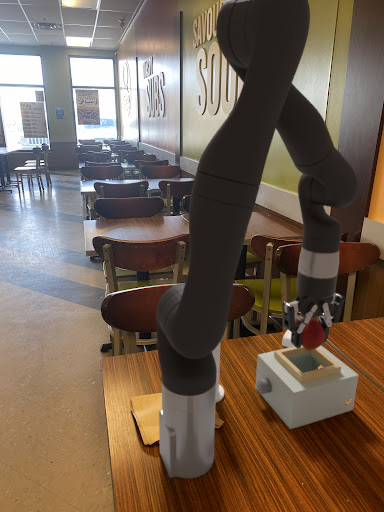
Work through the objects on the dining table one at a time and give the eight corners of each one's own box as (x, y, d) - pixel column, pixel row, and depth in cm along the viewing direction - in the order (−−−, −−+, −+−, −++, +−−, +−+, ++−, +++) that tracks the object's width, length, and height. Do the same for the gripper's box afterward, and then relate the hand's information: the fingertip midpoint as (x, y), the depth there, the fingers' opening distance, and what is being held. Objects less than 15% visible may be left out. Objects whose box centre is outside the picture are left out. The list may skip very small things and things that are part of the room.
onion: (317, 342, 87) (321, 309, 85) (326, 357, 82) (331, 322, 79) (291, 342, 87) (294, 310, 84) (298, 357, 82) (302, 323, 79)
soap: (289, 332, 117) (290, 323, 116) (308, 336, 115) (309, 327, 114) (281, 346, 109) (282, 337, 108) (301, 352, 107) (302, 342, 106)
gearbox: (281, 432, 79) (286, 388, 76) (247, 389, 92) (250, 350, 88) (352, 410, 85) (359, 368, 82) (311, 373, 98) (316, 335, 94)
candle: (219, 407, 86) (223, 303, 78) (189, 399, 88) (189, 298, 80) (227, 387, 92) (231, 289, 84) (198, 381, 94) (200, 285, 86)
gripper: (298, 281, 73) (290, 359, 78) (360, 271, 77) (348, 345, 83) (276, 267, 79) (270, 340, 85) (334, 259, 84) (325, 328, 90)
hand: (309, 342), depth 84 cm, fingers closed on onion, 6 cm apart
